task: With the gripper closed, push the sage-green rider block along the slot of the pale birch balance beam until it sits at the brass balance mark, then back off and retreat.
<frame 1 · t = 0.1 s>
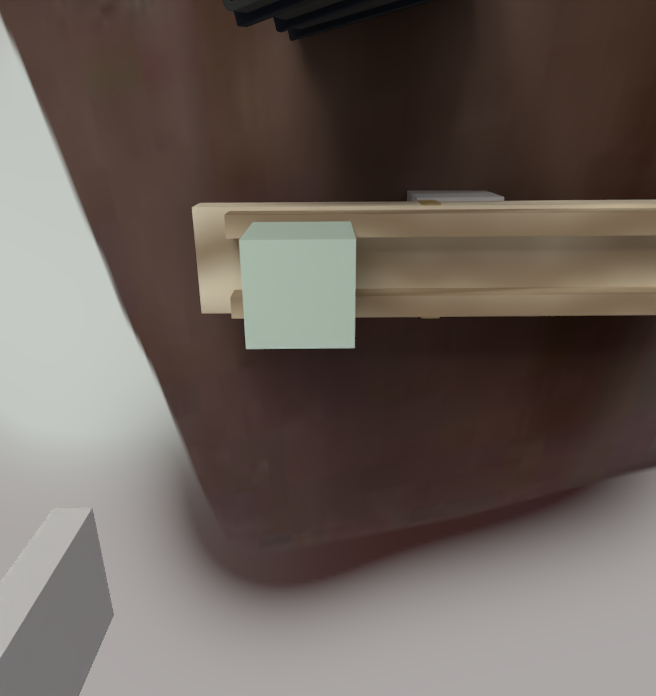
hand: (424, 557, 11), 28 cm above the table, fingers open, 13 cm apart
beam: (442, 240, 37), on the table
rider: (301, 276, 28), point 9 cm above the table, slide at -9.0 cm
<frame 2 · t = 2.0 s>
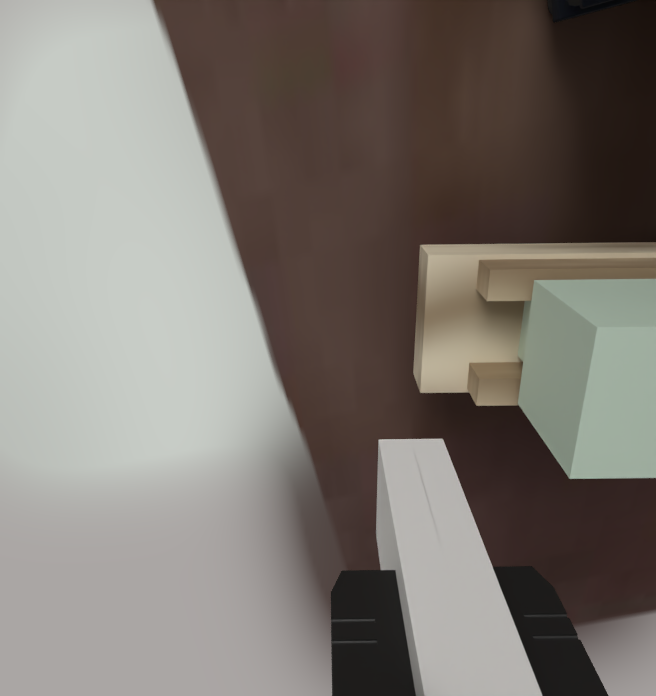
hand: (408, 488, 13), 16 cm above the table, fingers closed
rider: (610, 359, 20), point 10 cm above the table, slide at -9.0 cm
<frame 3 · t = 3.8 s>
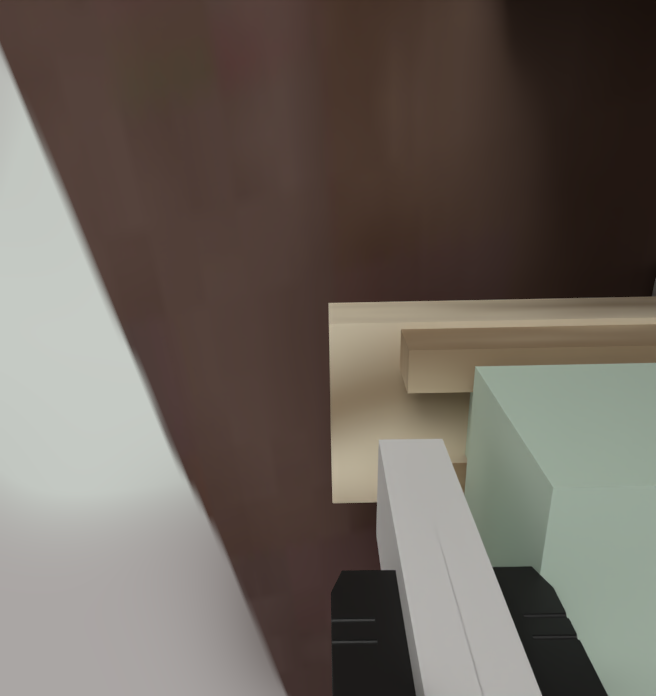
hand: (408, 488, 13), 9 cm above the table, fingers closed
rider: (587, 485, 13), point 10 cm above the table, slide at -8.9 cm, touching gripper
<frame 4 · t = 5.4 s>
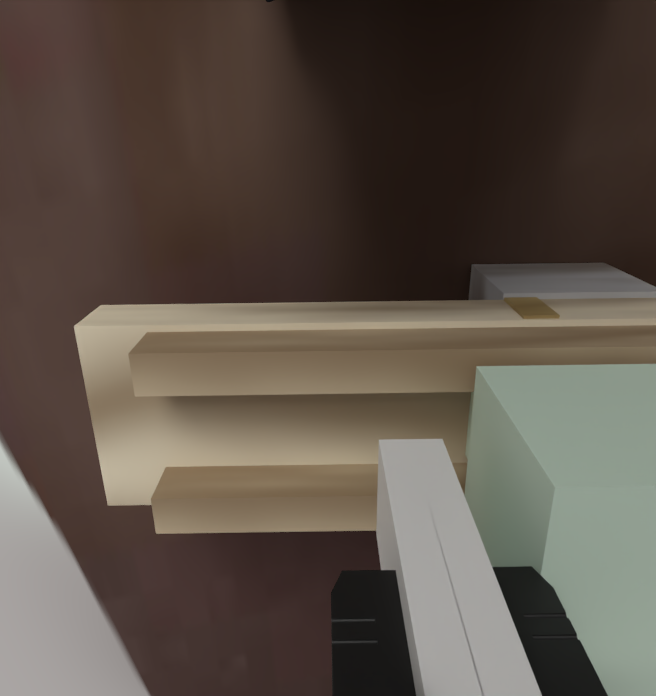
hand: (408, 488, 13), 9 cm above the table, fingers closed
beam: (527, 342, 22), on the table
rider: (588, 485, 13), point 9 cm above the table, slide at -1.8 cm, touching gripper
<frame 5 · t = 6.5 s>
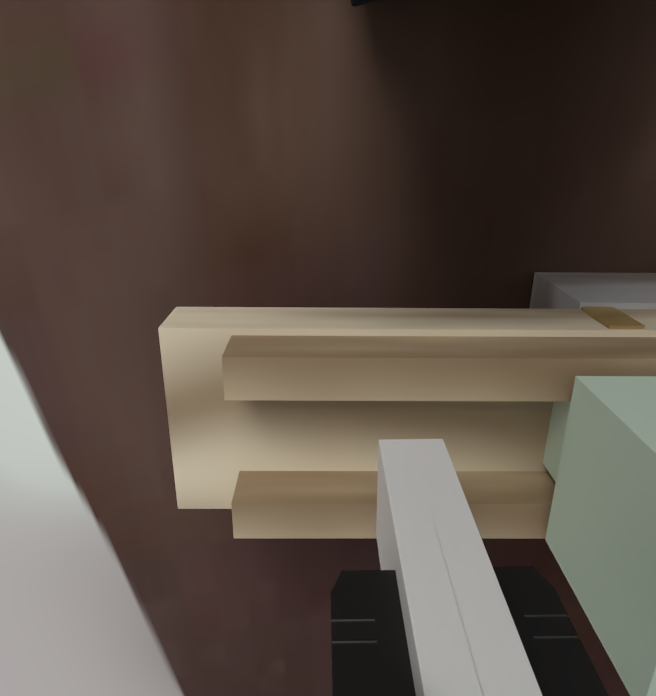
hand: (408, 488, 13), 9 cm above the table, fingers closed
beam: (585, 351, 22), on the table
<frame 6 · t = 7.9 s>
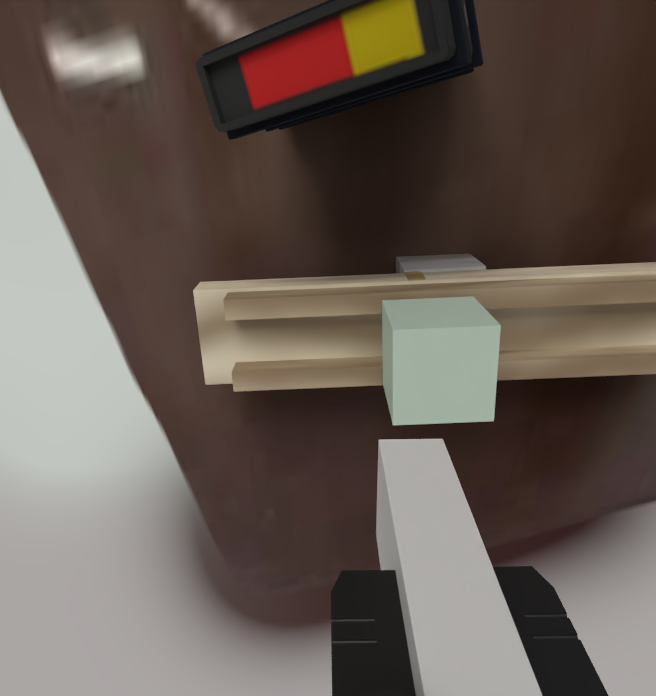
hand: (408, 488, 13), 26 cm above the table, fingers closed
beam: (431, 300, 39), on the table
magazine: (344, 77, 34), on the table
rider: (431, 350, 30), point 10 cm above the table, slide at -1.7 cm
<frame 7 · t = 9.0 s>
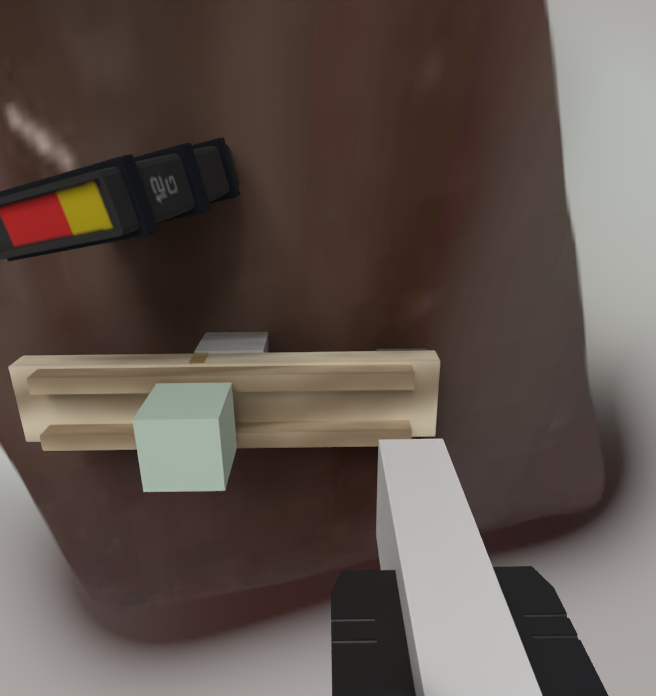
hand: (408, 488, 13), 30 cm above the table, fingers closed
beam: (239, 368, 45), on the table
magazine: (149, 187, 40), on the table
rider: (192, 427, 36), point 10 cm above the table, slide at -1.7 cm
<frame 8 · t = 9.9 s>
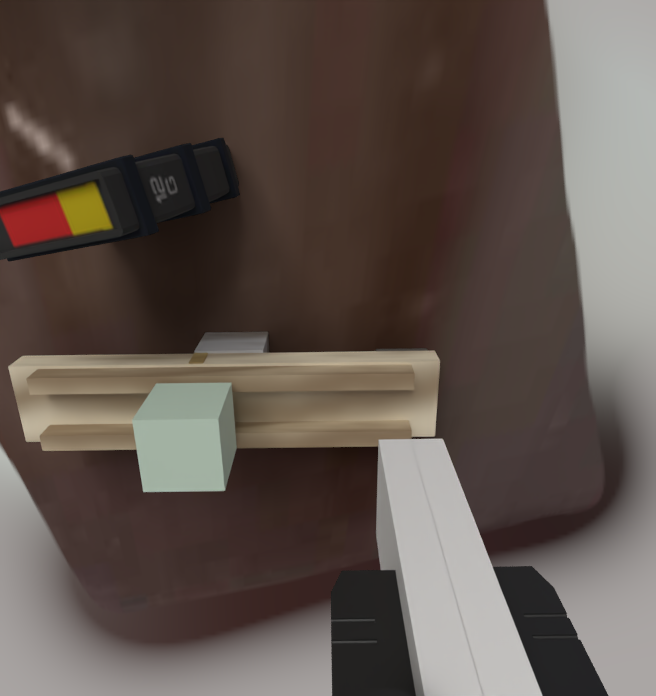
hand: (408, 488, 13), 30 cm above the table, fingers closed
beam: (239, 369, 45), on the table
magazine: (148, 187, 40), on the table
rider: (192, 427, 36), point 10 cm above the table, slide at -1.7 cm
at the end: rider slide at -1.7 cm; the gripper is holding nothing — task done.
